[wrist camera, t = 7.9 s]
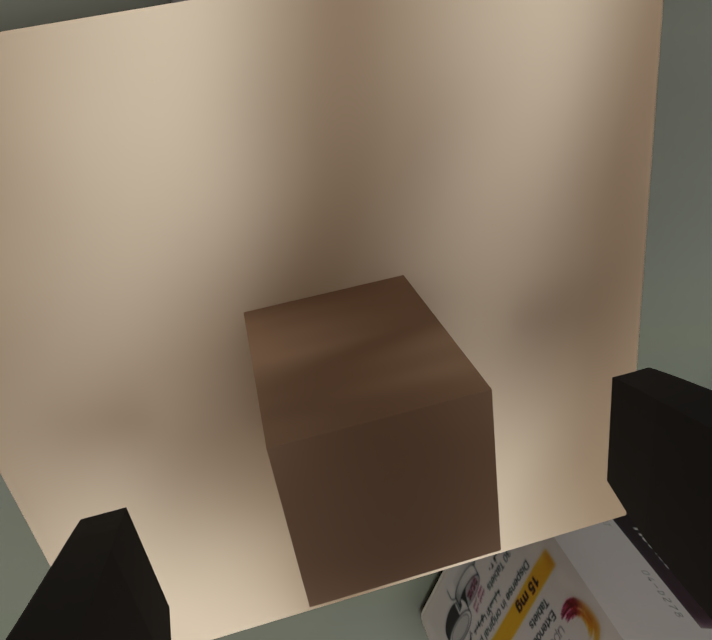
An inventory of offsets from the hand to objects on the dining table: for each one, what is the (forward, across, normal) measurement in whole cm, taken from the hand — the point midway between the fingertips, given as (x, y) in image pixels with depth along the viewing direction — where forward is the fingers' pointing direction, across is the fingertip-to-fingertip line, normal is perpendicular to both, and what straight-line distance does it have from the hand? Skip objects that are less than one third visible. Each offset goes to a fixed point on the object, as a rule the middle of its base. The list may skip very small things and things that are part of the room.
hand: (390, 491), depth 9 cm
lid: (+4, 0, 0) cm, 4 cm away
